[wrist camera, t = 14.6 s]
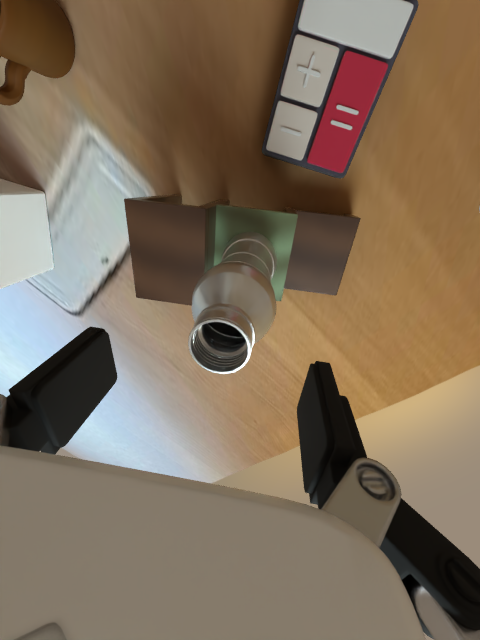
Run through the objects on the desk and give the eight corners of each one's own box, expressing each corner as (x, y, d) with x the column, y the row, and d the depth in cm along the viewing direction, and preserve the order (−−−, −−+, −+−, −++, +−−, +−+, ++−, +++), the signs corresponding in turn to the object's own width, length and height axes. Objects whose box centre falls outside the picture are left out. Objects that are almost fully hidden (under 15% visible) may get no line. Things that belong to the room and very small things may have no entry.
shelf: (173, 194, 37) (123, 198, 25) (352, 214, 35) (392, 230, 23) (176, 265, 42) (136, 297, 30) (331, 286, 41) (355, 329, 28)
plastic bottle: (280, 230, 29) (287, 298, 12) (273, 284, 32) (269, 399, 15) (227, 225, 30) (156, 284, 12) (225, 279, 33) (167, 385, 15)
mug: (75, 130, 35) (13, 113, 26) (22, 106, 34) (-58, 81, 26) (79, 10, 29) (1, -60, 20) (15, -22, 28) (-92, -106, 20)
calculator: (260, 152, 30) (309, -44, 22) (262, 154, 34) (305, -14, 26) (345, 179, 30) (425, -5, 22) (338, 178, 34) (405, 19, 26)
